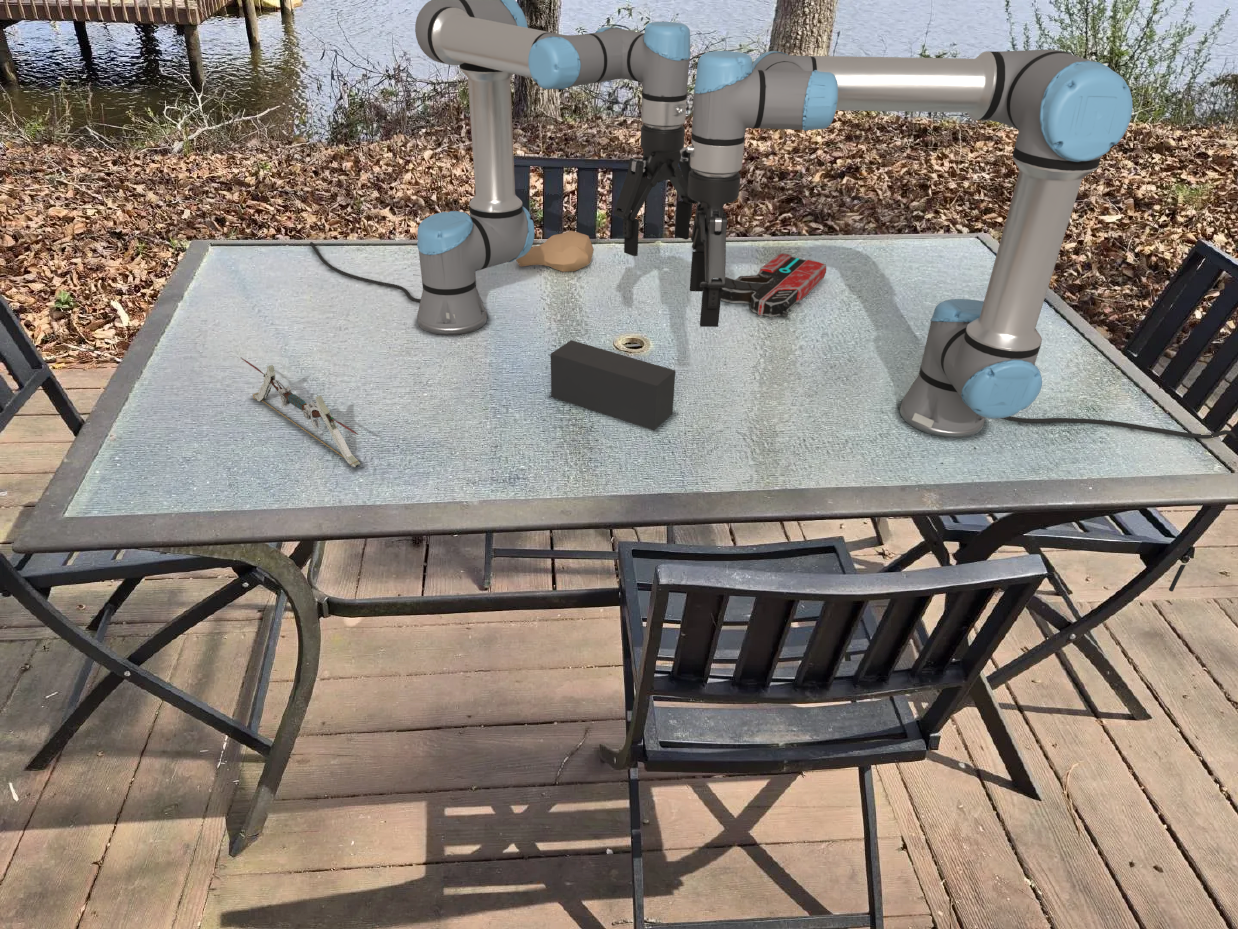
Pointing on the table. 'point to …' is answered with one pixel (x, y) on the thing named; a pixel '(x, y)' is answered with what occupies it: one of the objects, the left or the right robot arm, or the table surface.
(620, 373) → the box
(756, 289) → the gun
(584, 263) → the squash
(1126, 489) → the table surface
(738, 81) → the right robot arm
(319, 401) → the bow
